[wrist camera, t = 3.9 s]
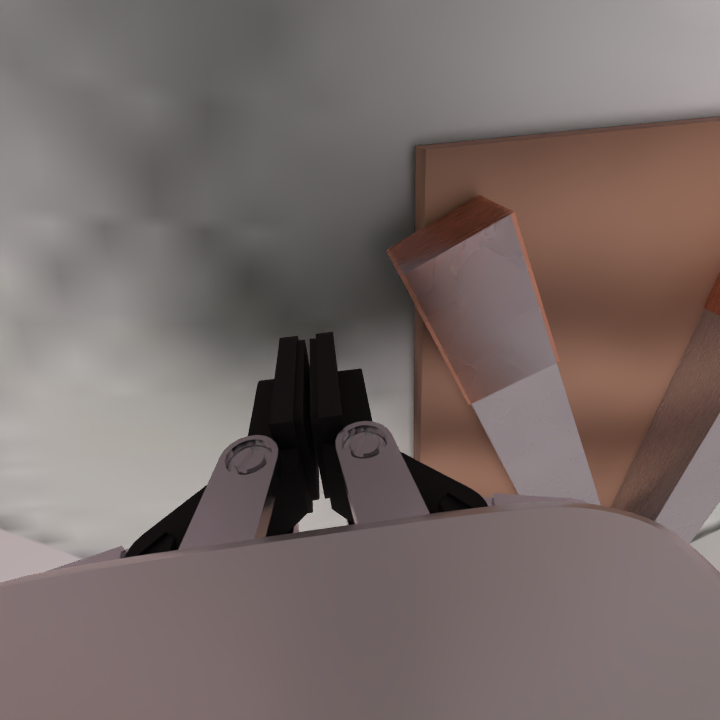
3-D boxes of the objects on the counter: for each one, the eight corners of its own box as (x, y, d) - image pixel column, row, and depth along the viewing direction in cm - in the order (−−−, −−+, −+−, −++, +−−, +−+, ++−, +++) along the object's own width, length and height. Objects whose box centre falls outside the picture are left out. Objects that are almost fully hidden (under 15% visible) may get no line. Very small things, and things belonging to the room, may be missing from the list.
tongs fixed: (649, 166, 11) (749, 182, 8) (869, 143, 11) (1027, 153, 9) (524, 567, 23) (550, 622, 21) (631, 550, 24) (670, 602, 21)
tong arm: (385, 250, 11) (400, 277, 9) (479, 194, 11) (514, 212, 9) (539, 539, 21) (561, 579, 19) (592, 518, 21) (619, 558, 19)
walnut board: (415, 145, 11) (426, 149, 10) (887, 100, 12) (941, 99, 11) (413, 564, 24) (417, 584, 23) (641, 529, 25) (655, 546, 24)
